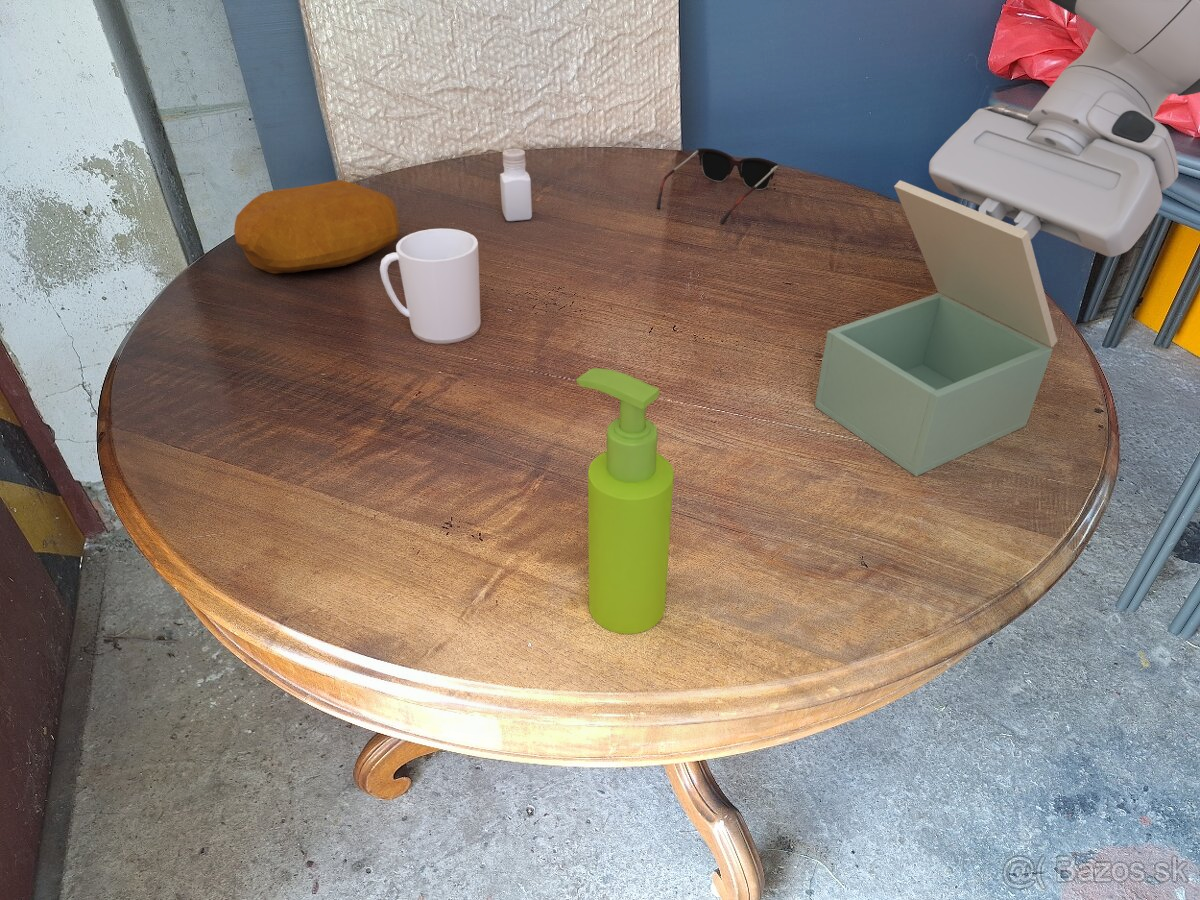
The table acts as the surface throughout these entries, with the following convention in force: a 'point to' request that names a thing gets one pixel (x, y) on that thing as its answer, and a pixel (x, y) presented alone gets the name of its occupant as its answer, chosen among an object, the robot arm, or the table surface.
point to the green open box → (929, 380)
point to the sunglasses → (721, 166)
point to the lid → (979, 261)
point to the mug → (438, 284)
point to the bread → (315, 226)
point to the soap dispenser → (628, 511)
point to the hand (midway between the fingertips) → (979, 254)
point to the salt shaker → (515, 186)
